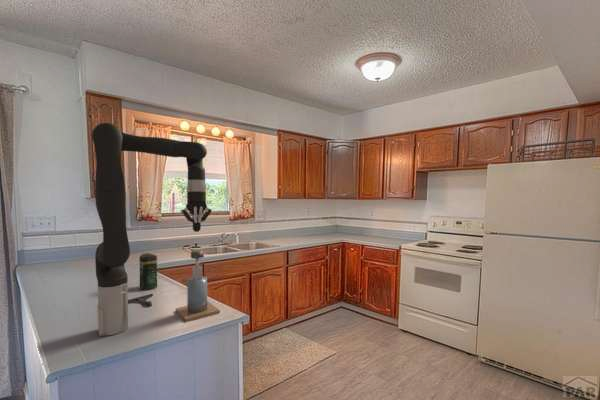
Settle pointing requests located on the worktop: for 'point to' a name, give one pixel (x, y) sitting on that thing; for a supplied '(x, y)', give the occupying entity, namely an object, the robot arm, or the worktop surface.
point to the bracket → (143, 301)
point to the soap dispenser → (197, 298)
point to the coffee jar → (148, 271)
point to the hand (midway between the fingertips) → (196, 231)
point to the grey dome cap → (197, 256)
